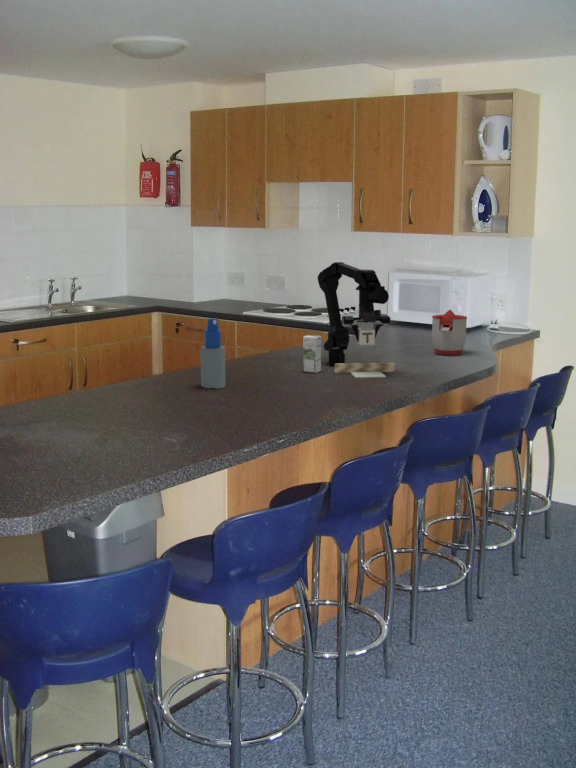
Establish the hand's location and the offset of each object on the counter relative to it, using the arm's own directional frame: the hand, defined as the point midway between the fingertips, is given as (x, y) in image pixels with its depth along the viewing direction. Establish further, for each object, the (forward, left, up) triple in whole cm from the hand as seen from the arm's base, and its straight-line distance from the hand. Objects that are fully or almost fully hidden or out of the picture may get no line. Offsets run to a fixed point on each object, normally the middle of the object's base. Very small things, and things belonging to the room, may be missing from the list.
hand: (365, 341), depth 349 cm
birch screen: (0, 0, -12) cm, 12 cm away
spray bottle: (-61, -24, -13) cm, 67 cm away
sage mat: (0, -7, -12) cm, 14 cm away
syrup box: (-21, +2, -13) cm, 25 cm away
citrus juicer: (+46, +40, -13) cm, 62 cm away
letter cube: (0, 0, -1) cm, 1 cm away
